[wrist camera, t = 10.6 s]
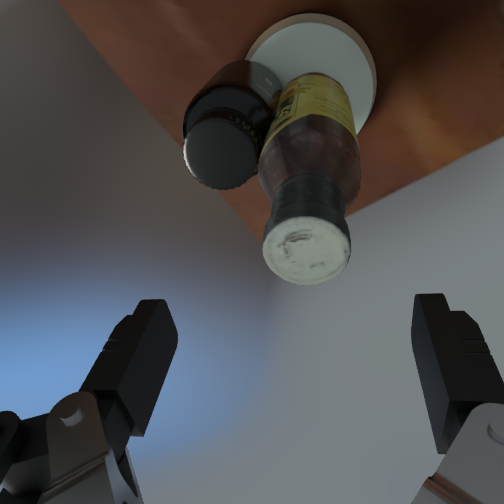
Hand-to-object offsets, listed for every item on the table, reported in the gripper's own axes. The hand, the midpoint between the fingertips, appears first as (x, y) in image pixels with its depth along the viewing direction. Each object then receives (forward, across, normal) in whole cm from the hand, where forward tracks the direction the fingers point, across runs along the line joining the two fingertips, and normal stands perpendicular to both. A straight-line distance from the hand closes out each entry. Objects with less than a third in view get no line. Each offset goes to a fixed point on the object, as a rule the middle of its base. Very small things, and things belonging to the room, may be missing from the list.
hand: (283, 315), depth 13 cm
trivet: (+28, 0, 0) cm, 28 cm away
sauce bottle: (+25, 0, +1) cm, 25 cm away
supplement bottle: (+26, +5, 0) cm, 26 cm away
